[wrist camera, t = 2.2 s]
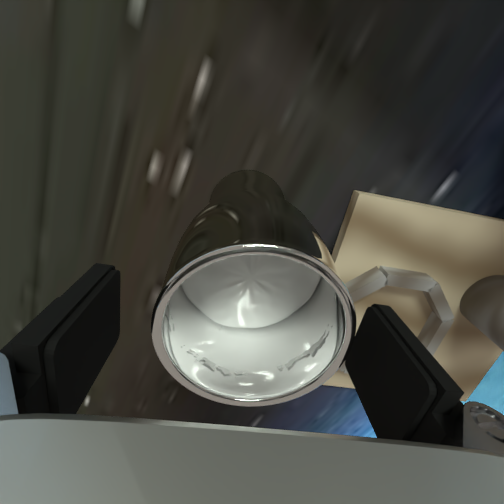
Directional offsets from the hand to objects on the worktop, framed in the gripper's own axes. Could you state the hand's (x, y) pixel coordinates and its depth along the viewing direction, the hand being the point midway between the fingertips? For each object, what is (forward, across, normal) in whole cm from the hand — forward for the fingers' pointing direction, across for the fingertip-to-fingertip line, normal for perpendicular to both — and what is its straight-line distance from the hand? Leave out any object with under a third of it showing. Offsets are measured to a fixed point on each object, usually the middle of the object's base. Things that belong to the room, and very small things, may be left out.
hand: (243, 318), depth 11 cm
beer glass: (+14, 0, -1) cm, 14 cm away
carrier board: (+13, -18, +6) cm, 24 cm away
